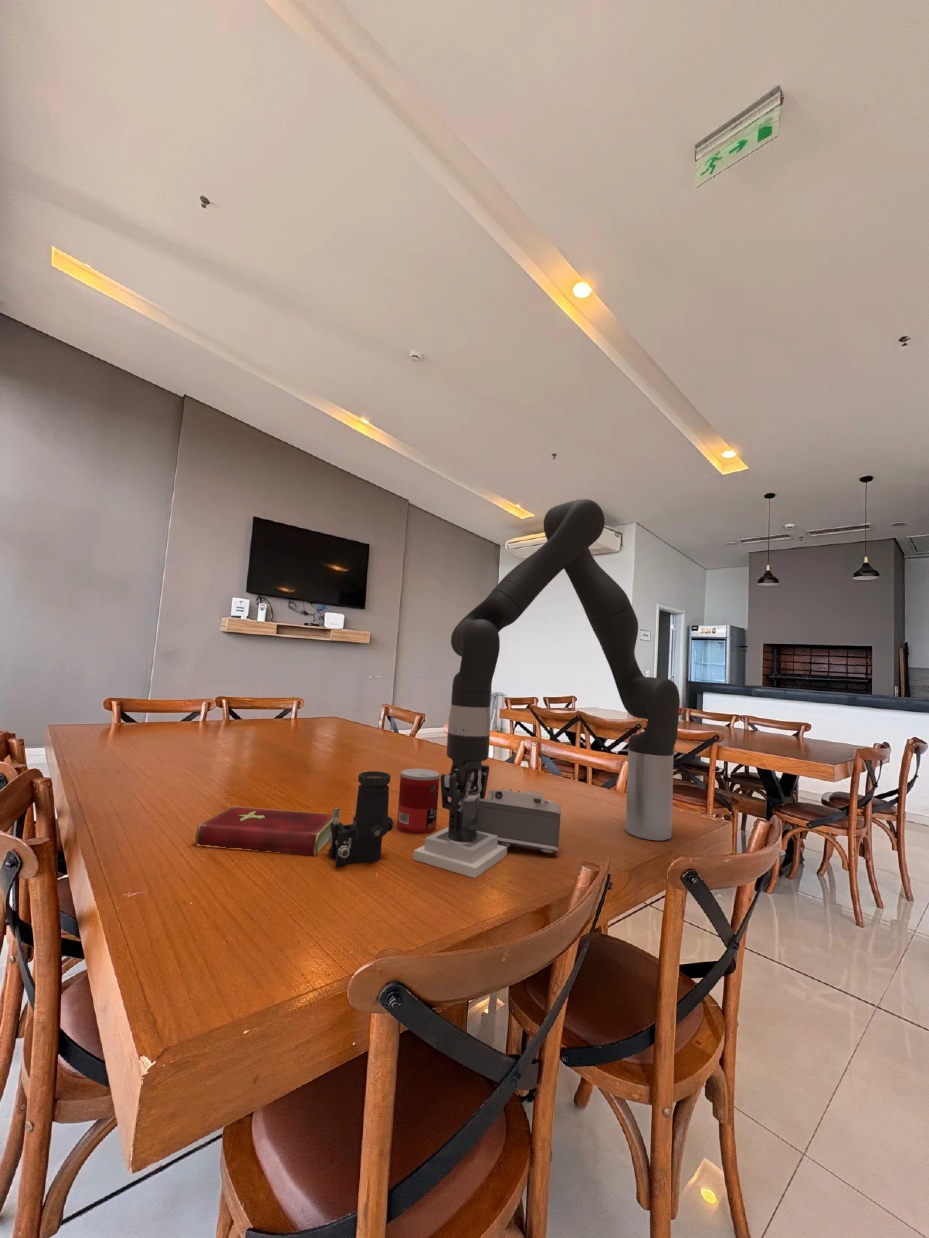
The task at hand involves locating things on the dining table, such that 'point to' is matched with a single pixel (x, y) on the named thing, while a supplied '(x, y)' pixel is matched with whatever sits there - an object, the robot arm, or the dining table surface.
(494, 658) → the robot arm
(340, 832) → the scope
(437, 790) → the canned food
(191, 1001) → the dining table surface
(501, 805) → the camera
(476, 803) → the lens
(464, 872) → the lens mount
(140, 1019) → the dining table surface
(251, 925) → the dining table surface
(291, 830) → the hardcover book
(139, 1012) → the dining table surface
